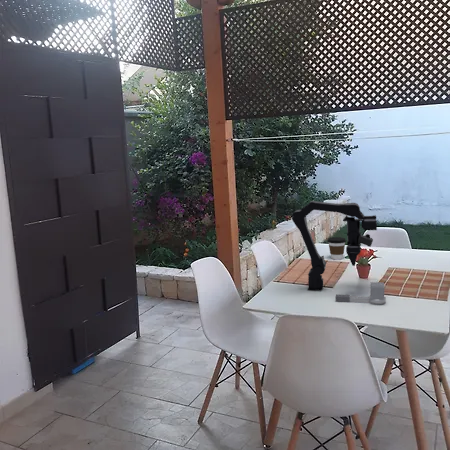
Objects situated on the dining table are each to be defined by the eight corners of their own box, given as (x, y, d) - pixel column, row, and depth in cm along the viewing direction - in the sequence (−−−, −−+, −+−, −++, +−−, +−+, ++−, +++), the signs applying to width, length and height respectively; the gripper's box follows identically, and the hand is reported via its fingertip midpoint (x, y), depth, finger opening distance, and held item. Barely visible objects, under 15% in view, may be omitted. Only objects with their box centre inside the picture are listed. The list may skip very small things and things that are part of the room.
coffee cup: (323, 258, 282) (323, 238, 280) (338, 255, 286) (338, 236, 284) (335, 261, 272) (335, 241, 270) (350, 258, 277) (350, 239, 275)
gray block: (370, 299, 201) (370, 286, 199) (370, 295, 206) (370, 282, 205) (384, 299, 199) (384, 286, 198) (383, 295, 204) (383, 282, 203)
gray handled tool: (335, 302, 204) (335, 290, 203) (336, 297, 211) (336, 286, 210) (386, 305, 198) (386, 292, 197) (385, 299, 205) (385, 287, 204)
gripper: (372, 234, 205) (372, 268, 207) (371, 226, 222) (371, 258, 225) (345, 234, 208) (346, 268, 210) (347, 226, 225) (347, 258, 228)
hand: (353, 263), depth 218 cm, fingers open, 9 cm apart
